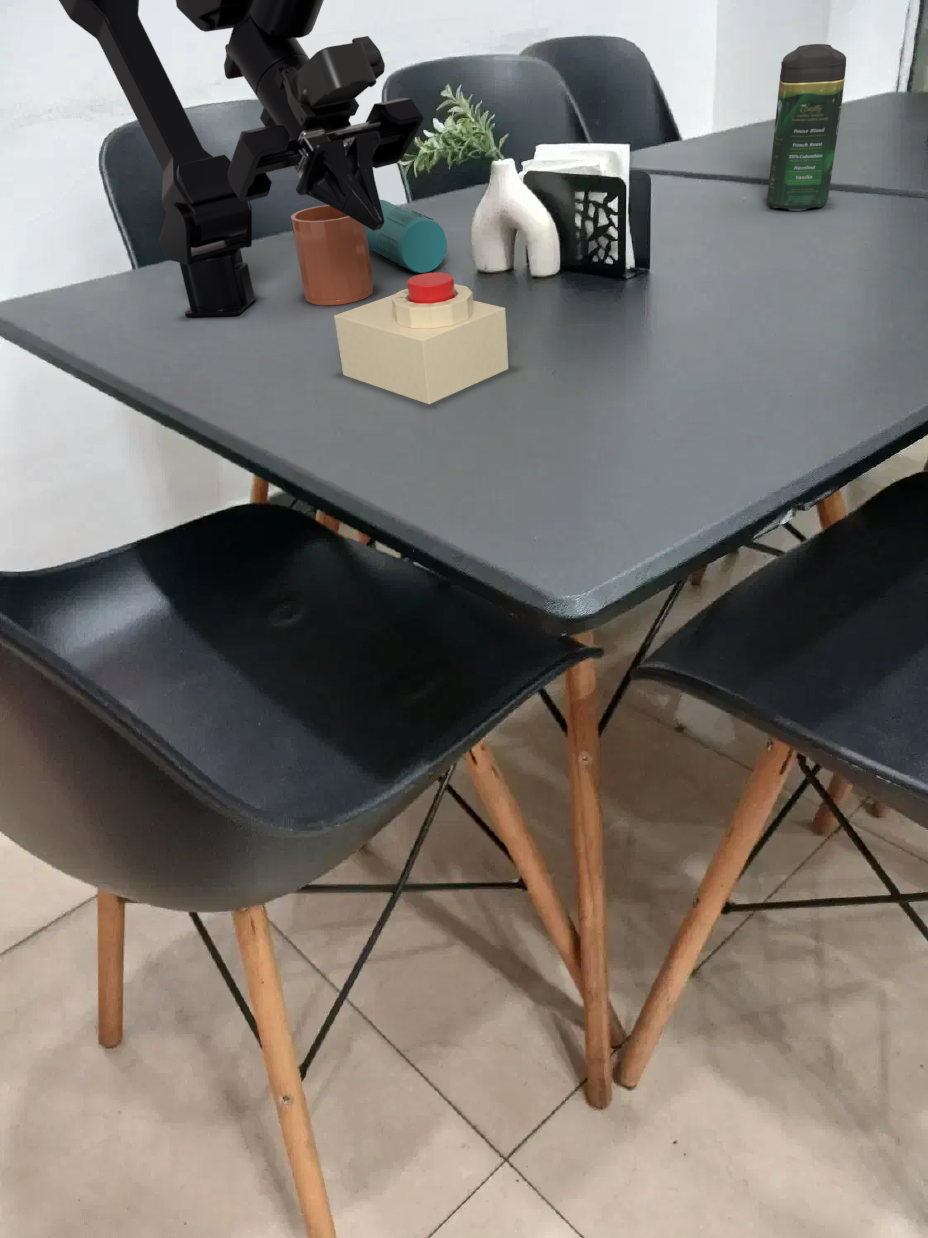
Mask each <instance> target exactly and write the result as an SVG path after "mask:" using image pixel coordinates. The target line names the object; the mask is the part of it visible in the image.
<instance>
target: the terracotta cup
mask: <svg viewBox="0 0 928 1238" xmlns="http://www.w3.org/2000/svg"><path fill="white" fill-rule="evenodd" d="M290 222H291V228H292V233H293V239H294V245H295V250H296V256H297V257H296V258H297V262H298V269H299V274H300V282H301V287H302V292H303V297H304V300H305V301H306V303H309V304H312V305H316V306H339V305H347V304H351V303H352V304H353V303H357V302H359V301H362V300H364V299H366V298H369V297H370V296H371V295H372V294H373V293H374V281H373V272H372V265H371V264H372V263H371V258H370V257H371V256H370V249H368V241H367V233H366V226H365V225H363V224H361V223H359V222H358V221H356V220H354V219H353V218H351V217H349V216H348V215H346V214H344V213H342V212H341V211H339V210H337V209H335V208H333V207H331V206H329V205H327V204H325V205H316V206H313V207H308V208H303V209H300V210H299V211H296V212H294V213H292V214H291V216H290Z"/></svg>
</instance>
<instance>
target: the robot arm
mask: <svg viewBox="0 0 928 1238" xmlns="http://www.w3.org/2000/svg"><path fill="white" fill-rule="evenodd" d="M324 1H325V0H175V5H176V8H177V9H178V11H180V12H181V13H182V15H183V16H185V17H186V18H187V19H188V20H189V22H191V23H192V24H193V25H194V26H195V27H196V28H197V29H198V30H199V31H202V32H204V33H207V32H208V33H209V32H214V31H221V30H222V31H223V30H229V29H232V30H231V34H230V37H229V40H228V43H226V44H225V46H224V50H225V60H224V63H223V69H224V76H225V78H226V79H227V80H232V79H233V80H234V79H237V78H244V79H245V81H246V82H247V84H248V86H249V87H250V89H251V90H252V91H253V93H254V95H255V96H256V98H257V99H258V101H259V103H260V104H261V106H262V107H263V108H262V111H261V114H260V117H259V120H260V121H261V122H262V124H263V125H264V126H261V127H257V128H251V129H247V130H242V131H241V132H240V134H239V137H238V141H237V143H236V146H235V149H234V152H233V155H232V158H231V159H229V158H228V156H227V155H226V154H220V155H216V156H214V155H212V154H211V153H210V152H208V151H207V150H206V149H205V148H204V146H203V144H202V143H201V141H200V139H199V136H198V135H197V132H196V131H195V128H194V126H193V124H192V122H191V120H190V118H189V116H188V114H187V112H186V110H185V108H184V106H183V104H182V102H181V100H180V98H179V96H178V94H177V92H176V90H175V87H174V86H173V84H172V82H171V80H170V78H169V76H168V74H167V72H166V69H165V67H164V65H163V64H162V61H161V59H160V58H159V56H158V53H157V51H156V49H155V47H154V45H153V42H151V39H150V37H149V34H148V32H147V31H146V28H145V27H144V25H143V23H142V21H141V18H140V16H139V9H140V8H139V7H140V0H58V2H59V4H60V5H61V7H62V8H63V10H64V12H65V13H66V15H67V16H68V18H69V19H70V20H71V21H72V22H73V23H75V24H76V25H78V26H79V27H81V28H82V29H83V30H84V31H85V32H86V33H88V34H89V35H90V36H92V37H94V38H95V39H96V40H97V42H98V43H99V46H100V47H101V50H102V52H103V53H104V56H105V58H106V59H107V62H108V63H109V65H110V67H111V69H112V71H113V73H114V75H115V78H116V79H117V81H118V84H119V86H120V87H121V90H122V91H123V94H124V95H125V98H126V100H127V101H128V103H129V107H131V110H132V111H133V113H134V115H135V118H136V120H137V122H138V123H139V126H140V127H141V129H142V132H143V133H144V135H145V138H146V140H147V141H148V143H149V145H150V147H151V149H152V152H153V153H154V155H155V158H156V159H157V161H158V164H159V165H160V167H161V170H162V173H163V175H162V186H161V187H162V189H161V202H162V205H163V207H164V211H165V212H166V213H165V214H166V215H165V218H164V221H163V224H162V229H161V232H160V235H159V244H160V247H161V249H162V250H163V254H164V256H165V258H166V260H167V261H171V262H175V263H178V264H179V267H180V271H181V275H182V279H183V282H184V283H183V284H184V288H185V292H186V296H187V301H188V305H189V308H188V309H186V310H185V311H184V316H185V317H187V318H191V317H193V318H194V317H195V318H196V317H224V316H225V317H227V316H238V315H240V314H241V313H242V312H244V311H245V310H246V309H247V308H248V307H249V306H250V305H251V304H252V303H253V302H254V301H255V300H256V299H257V295H256V294H255V293H254V289H253V284H252V279H251V274H250V268H249V264H248V263H247V262H246V261H244V260H243V255H242V249H244V248H251V247H252V245H253V244H252V243H253V242H252V241H253V240H252V239H253V235H252V234H253V233H252V232H253V231H252V230H253V214H252V213H253V211H252V205H251V202H250V201H254V200H258V199H262V198H266V197H268V196H269V193H270V191H271V188H272V183H273V182H272V180H271V179H270V177H269V176H268V174H267V173H270V172H273V173H278V172H282V171H286V170H289V169H294V171H295V172H296V175H297V176H298V179H299V181H298V184H297V185H296V188H295V190H296V193H297V194H298V195H299V196H305V195H306V196H309V197H311V198H312V199H313V198H314V200H317V201H319V202H320V203H321V202H322V203H323V204H325V205H329V206H331V207H333V208H335V209H337V210H339V211H341V212H342V213H344V214H346V215H348V216H349V217H351V218H353V219H354V220H356V221H358V222H359V223H361V224H363V225H365V226H366V227H368V228H370V229H371V230H373V231H375V230H379V229H381V228H382V226H383V225H384V222H385V220H384V216H383V212H382V208H381V204H380V200H381V199H380V196H379V192H378V187H377V183H376V178H375V174H374V169H380V168H383V167H386V166H391V165H394V164H398V162H399V161H401V160H402V159H403V158H404V156H405V155H406V153H407V151H408V149H409V148H410V145H411V144H412V142H413V141H414V138H415V136H416V135H417V133H418V131H419V129H420V127H421V126H422V124H423V122H424V120H425V117H424V116H423V115H422V113H421V111H420V110H419V108H418V107H417V105H416V103H415V102H414V100H413V99H412V98H408V97H407V98H406V97H400V98H396V99H390V100H385V101H381V102H376V103H373V105H372V108H371V110H370V112H369V114H368V116H367V118H366V120H365V121H364V122H361V123H357V124H352V123H351V122H350V119H351V117H353V116H356V115H357V114H356V113H357V111H358V109H359V107H360V104H359V102H358V101H357V99H356V98H357V97H358V96H360V95H361V94H362V93H363V92H364V91H366V89H368V88H373V87H374V86H375V85H376V84H377V79H379V78H380V77H381V76H382V75H383V74H384V73H385V68H386V64H385V61H384V59H383V56H382V52H381V51H380V49H379V48H378V46H377V45H376V43H374V42H373V40H372V39H371V37H370V36H369V35H366V36H360V37H354V38H352V39H351V42H349V43H345V44H344V43H343V44H337V45H331V46H327V47H324V48H322V49H320V50H318V51H316V52H315V53H314V54H313V55H312V56H311V57H309V56H308V54H307V53H306V51H305V50H304V48H303V46H302V45H301V43H300V41H299V40H298V38H300V39H301V38H304V37H306V36H308V35H309V34H311V33H312V31H313V30H314V27H315V24H316V22H317V19H318V18H319V17H318V16H319V14H320V12H321V9H322V6H323V3H324Z"/></svg>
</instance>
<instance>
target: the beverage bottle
mask: <svg viewBox="0 0 928 1238" xmlns="http://www.w3.org/2000/svg"><path fill="white" fill-rule="evenodd" d="M380 204H381V208H382V212H383V216H384V220H385V222H384V225H383V226H382V228H381V229H379V230H375V231H373V230H371V229H370V228H368V227H366V233H367V241H368V249H369V251H373V252H375V253H377V254H379V255H380V256H381V257H384V258H385V259H387V260H389V261H391V263H394V264H395V265H397V266H399V267H401V268H403V269H405V270H406V271H409V272H411V273H415V274H416V275H418V274H425V273H430V272H432V271H433V270H435V269H436V268H437V267H438V266H440V264H441V263H442V262H443V260H444V259H445V256H446V253H447V247H448V244H447V243H448V242H447V237H446V233H445V230H444V229H443V227H442V226H441V224H440V223H438V222H437V221H436V220H434V218H432V217H428V216H427V215H425V214H422V213H419V212H417V211H415V210H413V209H409V208H407V207H406V208H405V207H402V206H398V205H396V204H394V203H391V202H390V201H388V200H386V199H380Z"/></svg>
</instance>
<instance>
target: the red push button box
mask: <svg viewBox="0 0 928 1238" xmlns="http://www.w3.org/2000/svg"><path fill="white" fill-rule="evenodd" d="M454 292H455V298H452V299H450V300H447V301H444V302H438V303H431V304H425V303H413V302H410V301H409V292H408V287H407V288H405V289H402V290H399V291H398V292H396V293H394V294H391V295H389V296H386V297H382V298H379V299H377V300H373V301H372V302H369V303H365V304H363V305H360V306H357V307H354V308H352V309H349V310H346V311H343V312H341V313H338V314H334V317H333V319H334V324H335V329H336V336H337V343H338V349H339V356H340V362H341V369H342V370H341V371H342V375H343V376H346V377H348V378H351V379H354V380H358V381H360V382H362V383H366V384H368V385H371V386H374V387H377V388H380V389H383V390H386V391H389V392H392V393H394V394H398V395H401V396H403V397H406V398H410V399H413V400H415V401H418V402H421V403H424V404H427V405H430V404H433V403H435V402H438V401H439V400H443V399H444V398H446V397H449V396H451V395H453V394H455V393H458V392H460V391H462V390H464V389H467V388H468V387H471V386H474V385H476V384H478V383H480V382H482V381H485V380H487V379H489V378H491V377H494V376H495V375H498V374H500V373H502V372H504V371H507V370H509V355H508V354H509V351H508V336H507V335H508V333H507V316H506V315H507V314H506V307H503V306H498V305H494V304H490V303H486V302H481V301H478V300H474V297H473V294H474V293H473V291H472V289H470V288H469V287H468V286H466V285H462V284H457V283H454Z"/></svg>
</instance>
